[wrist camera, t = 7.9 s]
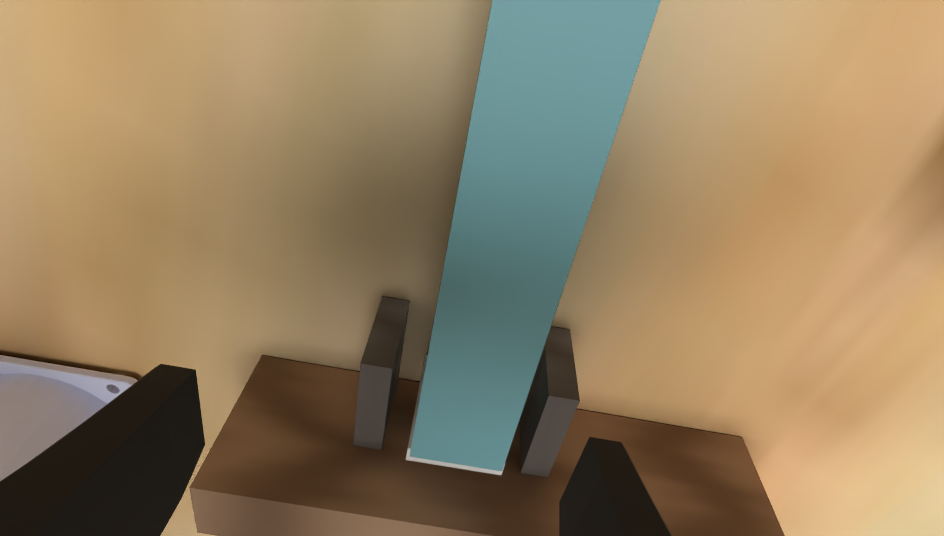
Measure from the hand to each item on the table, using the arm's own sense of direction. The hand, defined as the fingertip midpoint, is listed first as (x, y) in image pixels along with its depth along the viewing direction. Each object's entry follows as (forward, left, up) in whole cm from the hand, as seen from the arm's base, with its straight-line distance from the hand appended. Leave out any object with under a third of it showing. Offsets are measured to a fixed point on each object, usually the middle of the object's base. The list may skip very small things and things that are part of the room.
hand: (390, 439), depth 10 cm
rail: (+2, +1, -10) cm, 10 cm away
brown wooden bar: (+4, -7, -9) cm, 12 cm away
